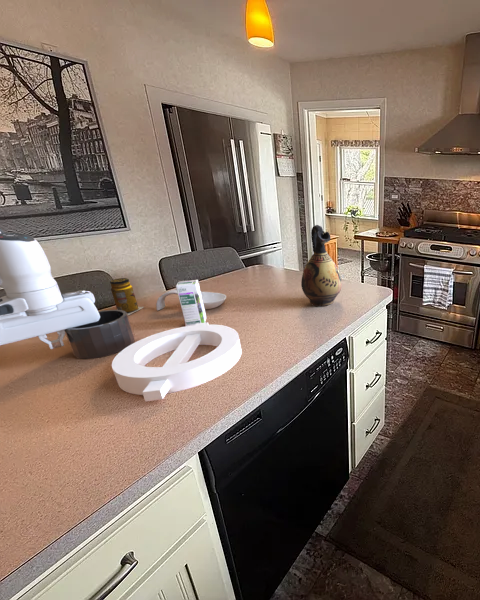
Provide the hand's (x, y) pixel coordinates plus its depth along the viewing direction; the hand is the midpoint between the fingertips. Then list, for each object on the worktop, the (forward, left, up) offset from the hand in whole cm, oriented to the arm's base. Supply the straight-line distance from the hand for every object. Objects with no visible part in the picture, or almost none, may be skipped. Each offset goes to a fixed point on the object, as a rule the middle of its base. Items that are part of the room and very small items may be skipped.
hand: (57, 346), depth 87 cm
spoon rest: (+38, +13, -4) cm, 40 cm away
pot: (+9, 0, -4) cm, 10 cm away
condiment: (+21, +28, -4) cm, 35 cm away
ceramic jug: (+73, -20, -4) cm, 76 cm away
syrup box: (+33, -2, -4) cm, 33 cm away
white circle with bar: (+20, -27, -4) cm, 34 cm away
